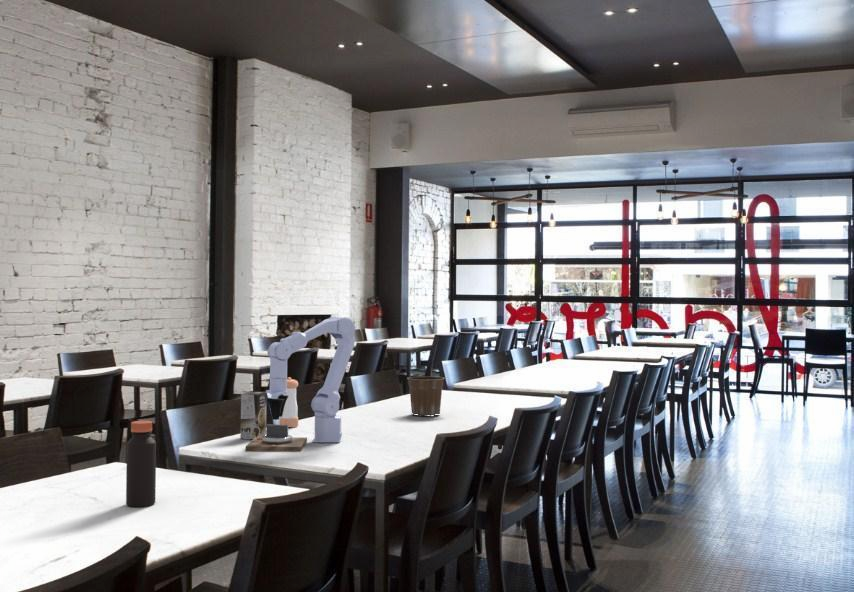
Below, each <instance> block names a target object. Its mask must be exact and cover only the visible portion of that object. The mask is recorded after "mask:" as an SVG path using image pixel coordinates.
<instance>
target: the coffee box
mask: <svg viewBox="0 0 854 592" xmlns="http://www.w3.org/2000/svg"><path fill="white" fill-rule="evenodd" d="M267 394H268V393H266V391H248V392H244V393H241V394H240V395H241V398H240V436H239V437H240V438H243V439H242V440H250V439H254V438H255V437H263V436H265V435H267V403H268V402H267V397H268V396H267Z"/></svg>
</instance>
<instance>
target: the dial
mask: <svg viewBox="0 0 854 592" xmlns="http://www.w3.org/2000/svg"><path fill="white" fill-rule="evenodd" d="M292 437H293V436H292V435H290V434H289V428H288V425H279V424H269V423H268V424H266V436H263V437H262V438H257V440H262V442H263V443H269V444H283V443H290V442H292Z"/></svg>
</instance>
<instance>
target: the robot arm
mask: <svg viewBox="0 0 854 592" xmlns="http://www.w3.org/2000/svg"><path fill="white" fill-rule="evenodd" d="M356 328H357V327H356V325H355V323H354V322H353V320H352V318H350V317H347V316H344V317H341V316H340V317H337V316H330V317H329V318H326V319H324V320H322V321H321V322H319V323H317V324H315V325H314V326H313V327H311V328H309V329H307V330H305V331H304V332H300V331H294V332H291V335H289V336H287V337H285V338H283V337H282V338H281V339H280V341H279V342H278V341H277V342H276V341H275V342H272V343H270V345H269V347H268V349H267V350H266V352H267V356H268V357H269V361H270V362H269V363H270V364H269V389H267V390H265V392H266V393H267V394H270V395H271V397H268V398H267V403H268V407H269V410H270V416H271V420H272V421H273V420H274V421H275V420H278V421H279V418H280V417H282V415H283V411H284V406H285V403H286V400H287V398H288V395H284V394H287V378H288V360H289V358H291V356H292V354H294V353H297V352H298V351H300V350H302V349H304V348H305V347H306V346H307V344H308V342H310V341H312V340H314V339H315V338H318V337H320V336H322V335H324V334H326V333H327V334H329V335H330V336H331V337H332V338H333V339H334V340H335V343H336V344H337V348H336V350H335V353H334V356H333V358H332V360H331V364H330V367H329V369H328V372H327V375H326V378H325V380H324V383H323V386H322V387H321V388H319V390H318V391H317V392H316V395H315V396H314V397H313V398H312V400H311V404H310V406H311V409H312V411H313V412H314V438H313V439H312V441H311V442H312V443H341V440H342V437H343V436H342V435H343V433H342V416H340V415H337V413H338V412H339V410H340V401H341V395H340V393H339V389H340V386H341V384H342V381H343V378H344V375H345V372H346V370H347V368H348V367H347V366H348V363H349V362H350V358H351V355H352V352H353V350H354V347H355V331H356Z"/></svg>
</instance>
